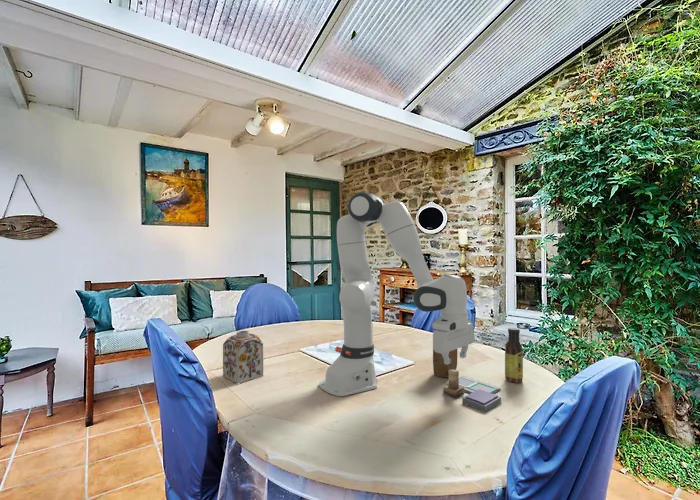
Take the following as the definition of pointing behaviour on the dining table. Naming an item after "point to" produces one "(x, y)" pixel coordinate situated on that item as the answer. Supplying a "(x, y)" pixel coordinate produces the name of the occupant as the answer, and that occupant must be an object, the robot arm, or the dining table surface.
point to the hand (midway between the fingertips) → (455, 360)
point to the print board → (476, 385)
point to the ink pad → (481, 400)
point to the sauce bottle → (513, 357)
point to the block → (440, 366)
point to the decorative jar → (242, 357)
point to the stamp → (453, 385)
